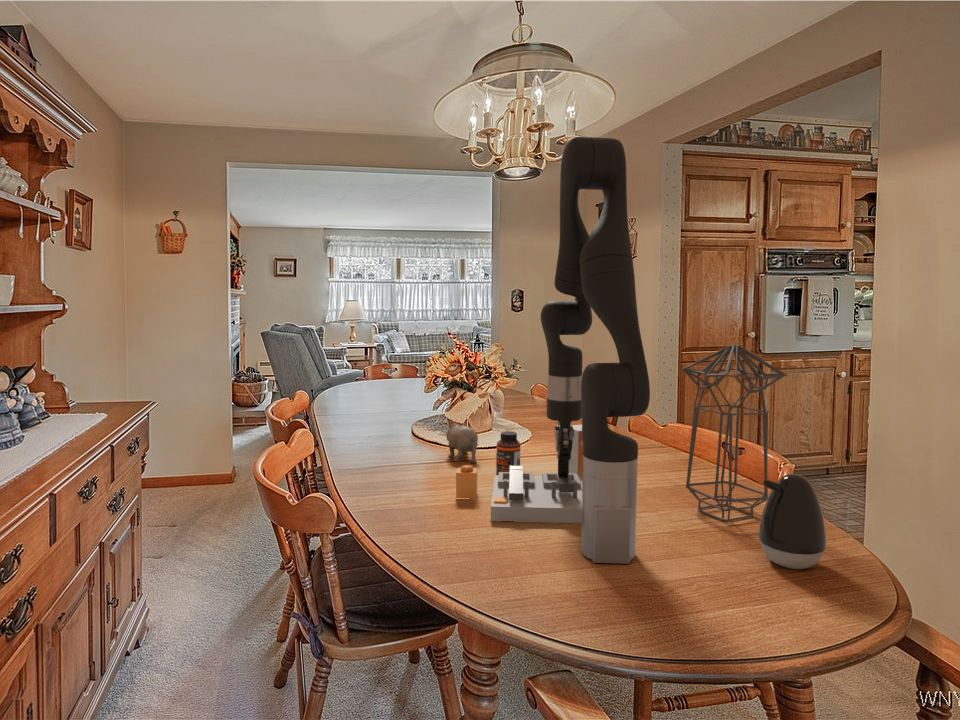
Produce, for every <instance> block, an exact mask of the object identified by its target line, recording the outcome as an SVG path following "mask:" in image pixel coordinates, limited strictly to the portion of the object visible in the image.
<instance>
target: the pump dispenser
mask: <svg viewBox="0 0 960 720" xmlns="http://www.w3.org/2000/svg"><path fill="white" fill-rule="evenodd" d="M762 484H763V486H764V485H765V486H767V487H768V489H771V491H770V493H769V494H768V499H767V500H766V501H765V504H764V508H763V510H762V514H761V518H760V522H759V529H758V540H759V541H760V545H761V547H762V551H763V552H764V554H765V556H766V557H767V558H768V559H769V560H770V561H772V562H773V563H774V564H777V565H778V566H780V567H783V568H787V569H792V570H803V569H808V568H811V567H813V566H815V565H817V563H818V562H820V560H821V558H822V556H823V553H824V551H825V552H826V550H827V532H826V530H827V529H826V524H825V518H824V514H823V510H822V505H821V504H820V501H819V497H818V495H817V492H816V491H815V489H814V486H813V485H812V483H811V482H810V480H808V479H807V478H806V477H804V476H803V475H800V474H797V473H789V474H786V475H783V476H781V477H780V478H779V479H778V480H777V481H776V482H775V481H773V480H770V479H768V478H767V479H765V480H763V481H762Z"/></svg>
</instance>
